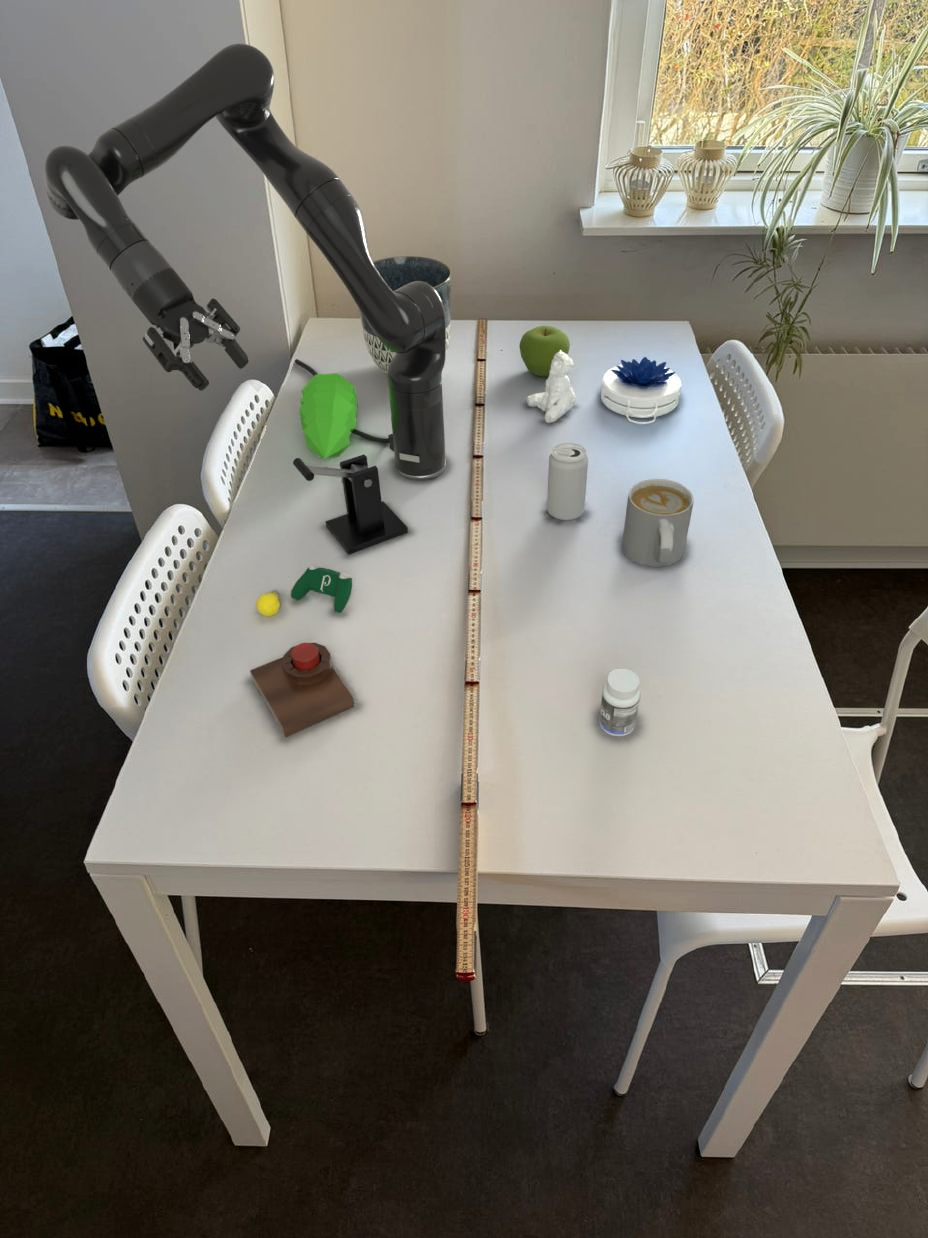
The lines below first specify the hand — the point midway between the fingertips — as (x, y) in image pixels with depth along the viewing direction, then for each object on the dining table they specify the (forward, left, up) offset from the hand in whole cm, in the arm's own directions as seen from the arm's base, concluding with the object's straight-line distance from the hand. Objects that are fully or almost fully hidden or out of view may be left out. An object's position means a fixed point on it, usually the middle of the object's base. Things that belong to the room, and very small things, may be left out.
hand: (225, 376), depth 128 cm
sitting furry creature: (-5, +65, -28) cm, 71 cm away
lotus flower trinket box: (+3, +80, -28) cm, 85 cm away
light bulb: (+21, -6, -28) cm, 35 cm away
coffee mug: (+42, +51, -28) cm, 72 cm away
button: (+38, -7, -24) cm, 45 cm away
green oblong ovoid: (-18, +21, -28) cm, 40 cm away
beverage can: (+25, +46, -28) cm, 59 cm away
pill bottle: (+67, +24, -28) cm, 76 cm away
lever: (+11, +10, -16) cm, 22 cm away
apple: (-19, +72, -28) cm, 80 cm away
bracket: (+11, +15, -28) cm, 33 cm away
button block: (+40, -9, -28) cm, 49 cm away
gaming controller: (+23, +2, -28) cm, 36 cm away
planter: (-35, +48, -28) cm, 66 cm away
